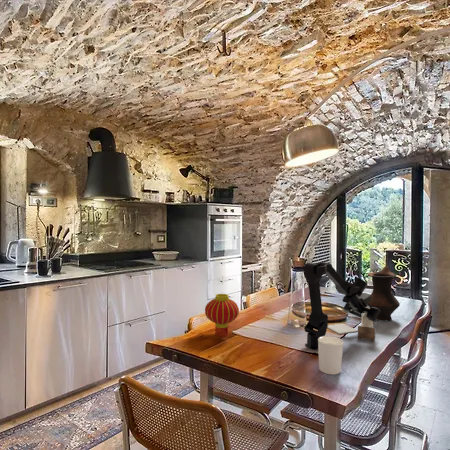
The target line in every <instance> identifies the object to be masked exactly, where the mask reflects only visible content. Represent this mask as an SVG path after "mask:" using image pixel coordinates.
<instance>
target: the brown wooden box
mask: <svg viewBox="0 0 450 450" xmlns="http://www.w3.org/2000/svg"><path fill="white" fill-rule="evenodd" d="M357 330H358V332H357V339H358V340H361V339H363V340H369V341H371V342H376V327H366V326H361V325H359V324H358V325H357Z"/></svg>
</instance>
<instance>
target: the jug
mask: <svg viewBox="0 0 450 450" xmlns="http://www.w3.org/2000/svg"><path fill="white" fill-rule="evenodd" d="M367 276H368V277H370V278H371V280H372V292H371V294H370V293H369V294H370V295H371V299H372V300H371V301H370V302H369V303H367V304H368V306H367V307H368V308H371V307H375V308H379V310H380V314H379V315H378V317H377V321H384V322H388V321H391V320H393V317H392V314H393V313H394V312H395V311H396V310H398V308H399V307H400V302H399V300H398V299H397V298H396V297H395V295H394V294H393V292H392V281H393V278H396V277H398V276H397V274H395V273H393V272H391V270H390V267H389V266H383V268H382V269H381V270H380V271H372V272H371V271H370V272H368V273H367Z"/></svg>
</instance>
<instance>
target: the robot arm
mask: <svg viewBox="0 0 450 450" xmlns="http://www.w3.org/2000/svg"><path fill="white" fill-rule="evenodd" d="M302 273H303V276H304V278H305V280H306V282H307V283H308V284H307V285H308V293H309V301H310V302H309V303H310V310H311V311H310V313H309V315H308V322H307V323H306V325H305V326H304V327H303V329H304V332H305V333H307V335H306V336H307V338H306V343H304V345H305V346H306V347H308V348H309V349H310V350H312V351H315V350H318V338H319V337H322V336H326V333H327V330H328V328H327V327H328V325H329V316H328V314H326V313H324V311H323V305H322V304H323V303H322V295H321V286H320V282H321V279H322V278H323V275H324V274H325V275H326V276H327V277H328V278H329V279H330V281H331V282H332V283H333V284H334V289H336V291H337V292H338V294H341V295H344V296H343V297H342V302H343V303H345V304H344V305H343V310H344V312H347V313H348V314H350V315H354V316H355V317H357V318H360V319H362V315H363V313H365V312H366V313H367V318H368V319H369V320H371V321H373V323H375V324H376V323H377V322H378V320H377V317H378V315H379V314H380V310H379V308H375V307H371V308H370V307H369V306H368V304H367V303H369V302H370V301H371V300H372V299H371V295H370V293H367V292H364V291H365V290H366V289H367V287H368V283H367V281H365V280H363V279H362V278H361V277H356V278H355V280H354V281H353V283H351V282H349V281H347V280H345V279H344V278H343V277H342V276H341V275H340V273H338V271H337V270H336V269H335V268H334V267H333V265H332V264H331V262H324V261H322V262H314V263H312V262H308V261H307V262H305V264H304V265H303V266H302ZM366 307H368V308H366ZM369 308H370V309H369Z"/></svg>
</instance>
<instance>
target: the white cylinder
mask: <svg viewBox="0 0 450 450" xmlns="http://www.w3.org/2000/svg"><path fill="white" fill-rule="evenodd" d="M344 344H345V343H344V340H343V339H341V338H339V337H336V336H330V335H325V336H322V337H319V338H318V349H317V350H318V369H319V371H320V372H322V373H324V374H328V375H338V374H339V373H341V371H342V362H343V351H344Z"/></svg>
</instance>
